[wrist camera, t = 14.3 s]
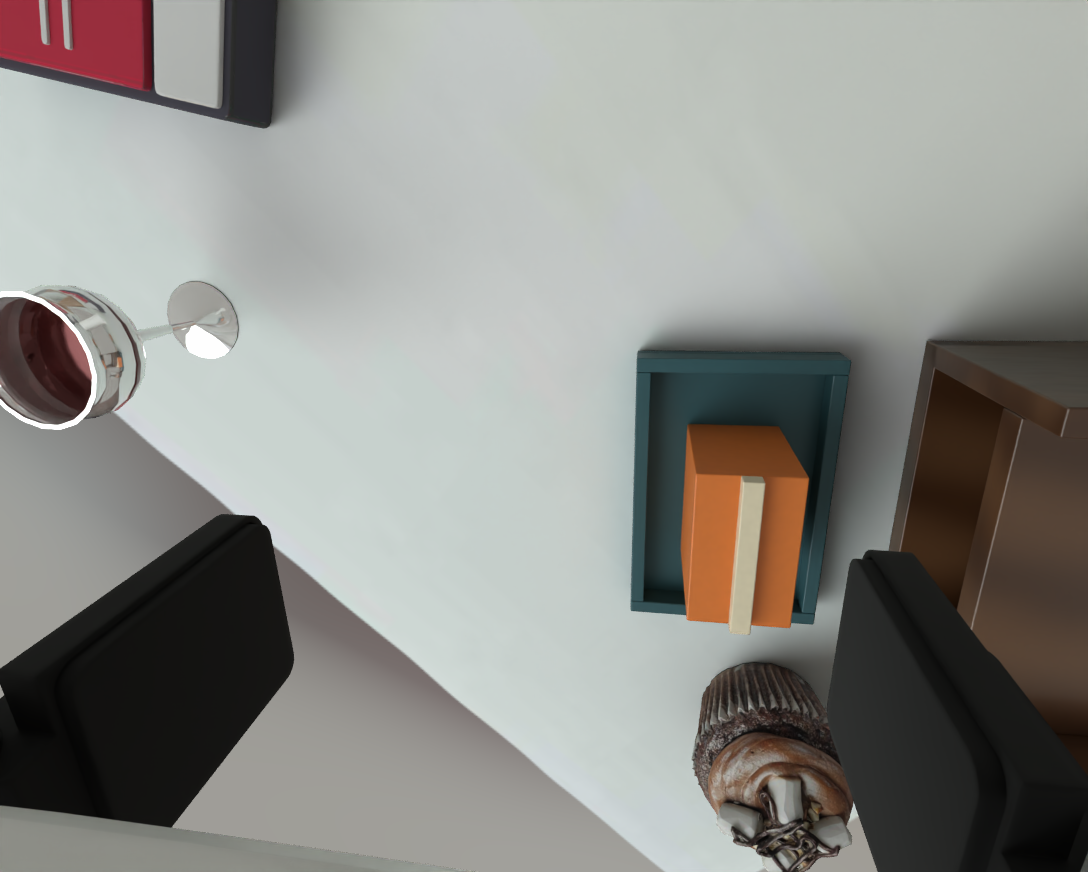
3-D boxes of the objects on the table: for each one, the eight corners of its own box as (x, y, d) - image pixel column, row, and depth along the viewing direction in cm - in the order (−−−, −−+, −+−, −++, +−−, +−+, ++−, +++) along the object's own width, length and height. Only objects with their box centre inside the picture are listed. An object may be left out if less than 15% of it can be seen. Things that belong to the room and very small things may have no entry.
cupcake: (863, 701, 42) (923, 840, 33) (769, 783, 46) (799, 929, 36) (746, 627, 42) (773, 746, 32) (661, 715, 45) (663, 846, 36)
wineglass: (231, 259, 39) (62, 278, 28) (264, 365, 41) (119, 423, 30) (139, 275, 40) (-57, 300, 29) (175, 377, 42) (5, 437, 31)
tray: (637, 350, 37) (637, 358, 35) (840, 352, 35) (851, 360, 33) (631, 592, 42) (630, 611, 40) (806, 605, 40) (813, 625, 39)
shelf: (926, 340, 34) (1068, 407, 22) (1179, 341, 32) (1479, 415, 20) (875, 619, 40) (966, 786, 28) (1086, 634, 38) (1276, 820, 26)
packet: (687, 423, 37) (696, 480, 29) (779, 425, 36) (813, 485, 28) (680, 548, 40) (687, 630, 32) (765, 553, 39) (793, 638, 31)
